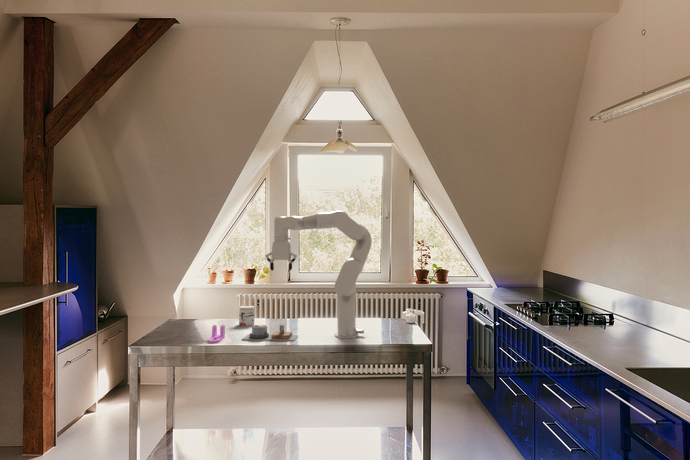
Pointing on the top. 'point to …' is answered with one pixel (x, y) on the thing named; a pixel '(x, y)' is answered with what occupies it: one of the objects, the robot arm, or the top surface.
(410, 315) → the skeletal toy car
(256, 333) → the ring
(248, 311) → the ink box
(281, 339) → the mat
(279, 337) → the stand
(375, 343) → the top surface
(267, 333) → the hub
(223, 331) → the bracket
